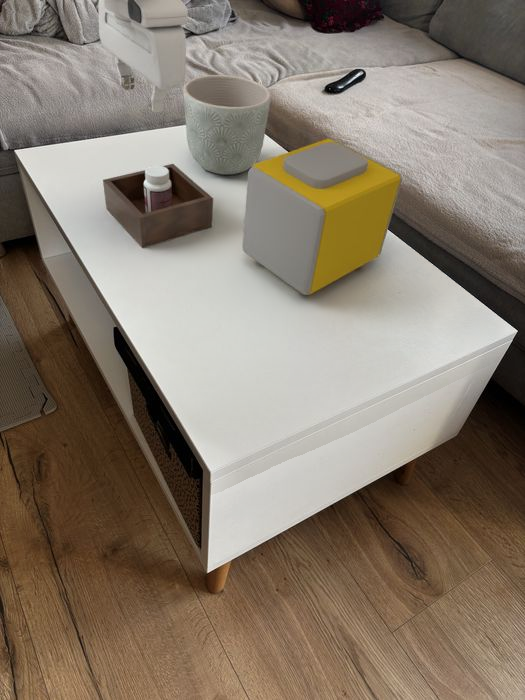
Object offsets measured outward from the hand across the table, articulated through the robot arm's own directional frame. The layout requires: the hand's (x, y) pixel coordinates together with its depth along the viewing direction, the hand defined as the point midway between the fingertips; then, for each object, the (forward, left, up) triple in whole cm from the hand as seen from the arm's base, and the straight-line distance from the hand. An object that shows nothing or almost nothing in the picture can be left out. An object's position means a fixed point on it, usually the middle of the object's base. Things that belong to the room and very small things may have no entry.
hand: (141, 99), depth 84 cm
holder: (+2, -1, -21) cm, 21 cm away
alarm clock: (+18, -25, -21) cm, 37 cm away
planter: (+24, +11, -21) cm, 34 cm away
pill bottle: (+2, -1, -21) cm, 21 cm away
